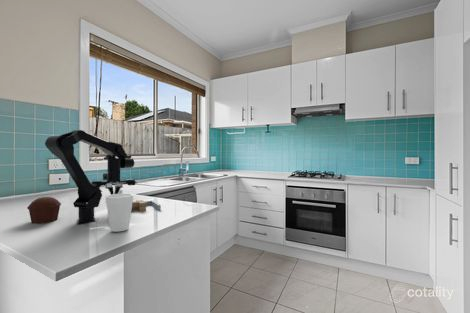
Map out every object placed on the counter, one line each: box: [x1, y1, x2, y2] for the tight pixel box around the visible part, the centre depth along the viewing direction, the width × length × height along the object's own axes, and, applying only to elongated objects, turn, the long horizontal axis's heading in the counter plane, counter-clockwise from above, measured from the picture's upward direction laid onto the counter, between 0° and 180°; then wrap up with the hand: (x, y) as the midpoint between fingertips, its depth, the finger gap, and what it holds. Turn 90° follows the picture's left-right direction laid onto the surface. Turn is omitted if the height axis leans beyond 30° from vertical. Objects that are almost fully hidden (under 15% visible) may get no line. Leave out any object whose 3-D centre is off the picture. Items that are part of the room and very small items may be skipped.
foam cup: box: [105, 192, 134, 233], centre depth 86 cm, size 10×9×13 cm
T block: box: [131, 199, 147, 212], centre depth 115 cm, size 9×9×4 cm
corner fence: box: [144, 199, 162, 212], centre depth 118 cm, size 16×11×3 cm
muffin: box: [26, 196, 62, 225], centre depth 97 cm, size 12×11×10 cm
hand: (113, 200), depth 110 cm, fingers closed
